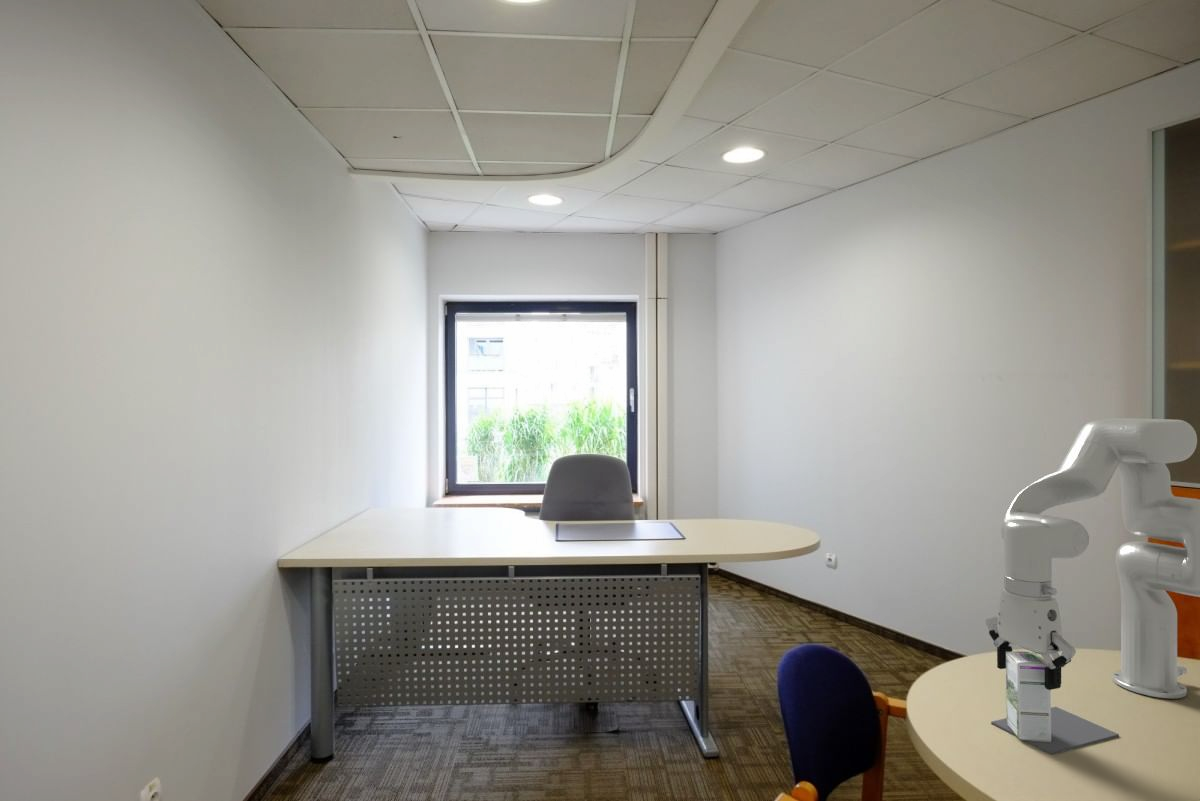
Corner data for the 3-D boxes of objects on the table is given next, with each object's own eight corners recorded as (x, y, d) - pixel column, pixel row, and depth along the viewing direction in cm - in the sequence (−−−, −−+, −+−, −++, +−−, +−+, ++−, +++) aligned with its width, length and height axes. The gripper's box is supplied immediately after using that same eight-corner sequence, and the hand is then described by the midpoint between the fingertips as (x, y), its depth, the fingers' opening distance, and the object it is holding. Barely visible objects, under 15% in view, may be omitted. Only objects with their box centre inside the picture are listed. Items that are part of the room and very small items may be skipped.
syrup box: (1052, 742, 123) (1052, 663, 122) (1017, 739, 124) (1017, 661, 124) (1038, 727, 128) (1038, 652, 128) (1004, 725, 129) (1004, 650, 129)
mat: (1055, 708, 137) (1055, 706, 137) (1118, 736, 126) (1118, 734, 126) (991, 723, 131) (991, 721, 131) (1051, 754, 119) (1051, 752, 119)
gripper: (1088, 597, 119) (1088, 694, 119) (1001, 573, 135) (1001, 658, 135) (1057, 602, 116) (1058, 700, 116) (973, 577, 132) (973, 663, 133)
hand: (1027, 677), depth 126 cm, fingers open, 9 cm apart
